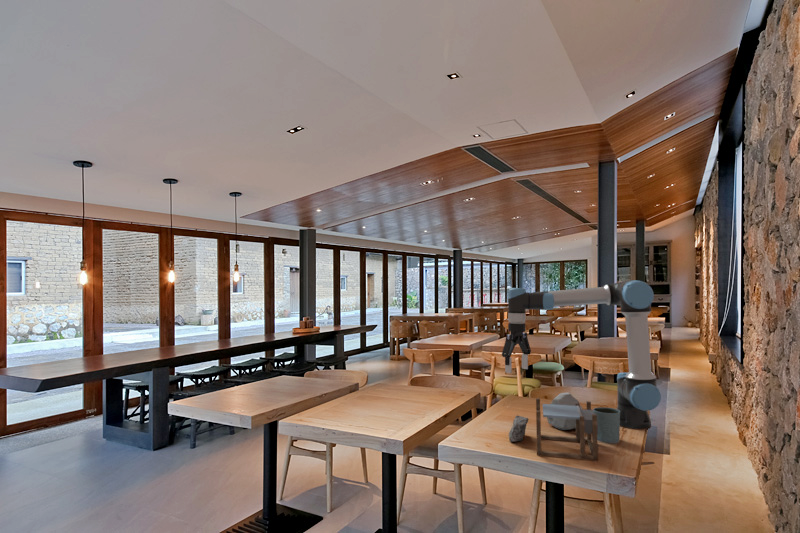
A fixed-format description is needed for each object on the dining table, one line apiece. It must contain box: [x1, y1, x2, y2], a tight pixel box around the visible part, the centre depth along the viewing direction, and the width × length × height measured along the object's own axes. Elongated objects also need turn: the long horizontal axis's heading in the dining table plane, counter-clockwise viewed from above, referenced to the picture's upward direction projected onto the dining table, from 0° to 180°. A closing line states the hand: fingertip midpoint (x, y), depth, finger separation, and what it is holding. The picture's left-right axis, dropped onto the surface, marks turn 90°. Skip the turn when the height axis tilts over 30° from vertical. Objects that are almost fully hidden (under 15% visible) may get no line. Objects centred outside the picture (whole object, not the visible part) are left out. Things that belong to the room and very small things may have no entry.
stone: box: [546, 392, 583, 431], centre depth 210 cm, size 12×12×15 cm
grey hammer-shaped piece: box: [542, 403, 598, 435], centre depth 183 cm, size 19×17×6 cm
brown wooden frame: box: [535, 397, 599, 461], centre depth 184 cm, size 21×21×16 cm
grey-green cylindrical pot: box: [592, 406, 621, 444], centre depth 193 cm, size 10×10×12 cm
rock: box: [508, 414, 529, 443], centre depth 195 cm, size 16×8×10 cm, turn 147°
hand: (516, 370), depth 211 cm, fingers open, 13 cm apart
